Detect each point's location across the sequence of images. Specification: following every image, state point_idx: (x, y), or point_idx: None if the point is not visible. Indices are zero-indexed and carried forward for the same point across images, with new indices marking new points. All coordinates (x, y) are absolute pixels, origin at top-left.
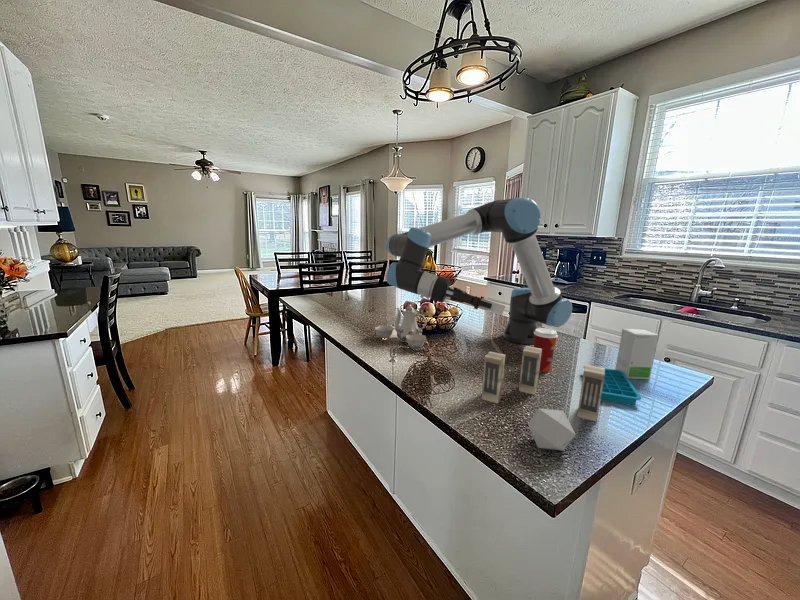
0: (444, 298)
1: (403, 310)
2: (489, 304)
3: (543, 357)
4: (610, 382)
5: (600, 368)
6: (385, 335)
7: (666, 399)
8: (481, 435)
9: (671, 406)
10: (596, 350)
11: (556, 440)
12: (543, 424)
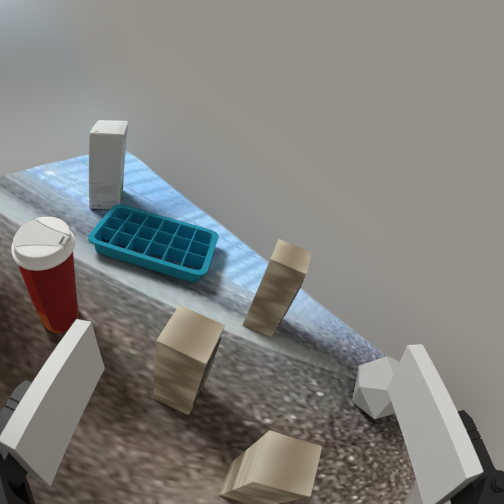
0: None
1: None
2: (469, 425)
3: (72, 298)
4: (155, 237)
5: (282, 245)
6: None
7: (183, 207)
8: (387, 491)
9: (203, 213)
10: (10, 191)
11: None
12: None
